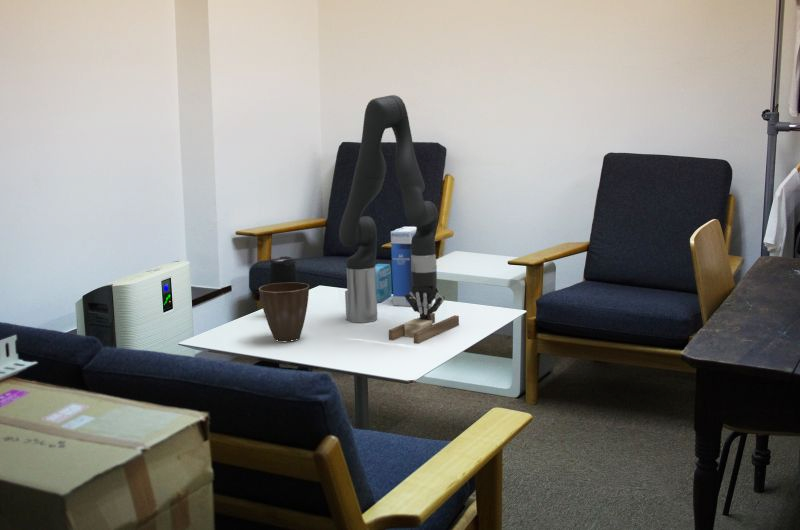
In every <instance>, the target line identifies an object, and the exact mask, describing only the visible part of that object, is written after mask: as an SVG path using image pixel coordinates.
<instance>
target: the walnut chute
mask: <svg viewBox="0 0 800 530" xmlns="http://www.w3.org/2000/svg"><path fill="white" fill-rule="evenodd" d="M430 317H431V321H432V325H431V326H429V327H427V328H424V329H422V330H420V331H418V332H415V333H414V337H413V344H417V345H419V344H421V343H424V342H425V341H428V340H430V339H432V338H434V337H436V336H439V335H441V334H443V333H445V332H447V331H449V330H451V329H453V328H456V327H458V326H460V316H459V315H455V314H454V315H453V316H450V317H447V318H445V319H443V320H440V321H438V322H436V312H433V313H431V314H430ZM416 319H420V316H419V317H417V318H416ZM402 337H406V336H405V328H404V323H403V324H400V325H398V326H395V327H393V328H391V329H388V340H389V341H395V340H399V339H401V338H402Z"/></svg>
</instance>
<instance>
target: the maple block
mask: <svg viewBox="0 0 800 530" xmlns="http://www.w3.org/2000/svg"><path fill="white" fill-rule="evenodd" d="M403 324H404V328H405V336H404V337H407V338H408V337H409V338H414V333H415V332H418V331H420V330H422V329H424V328H427V327H429V326H431V325H433V324H432V321H431V320H422V319H417V318H414V319H411V320H409V321H406V322H404V323H403Z"/></svg>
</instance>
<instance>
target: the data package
mask: <svg viewBox="0 0 800 530" xmlns="http://www.w3.org/2000/svg"><path fill="white" fill-rule="evenodd" d="M375 272H376V295H377V303H382V302H384V301H386V300H388V299H389V298H391V297H392V296H393V282H392V265H391V264H390V263H377V264H375Z"/></svg>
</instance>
